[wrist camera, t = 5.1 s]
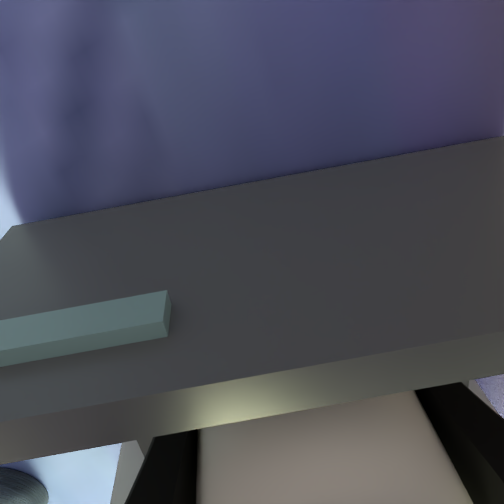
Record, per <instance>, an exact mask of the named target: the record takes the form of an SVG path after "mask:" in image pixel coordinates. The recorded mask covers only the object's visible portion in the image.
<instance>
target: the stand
mask: <svg viewBox="0 0 504 504" xmlns="http://www.w3.org/2000/svg"><path fill="white" fill-rule="evenodd" d="M0 504H48V493H47V491H46V489H45V488H44V486H43V485H42V484H41V483H40V482H39V481H37V480H36V479H35V478H33V477H31V476H29V475H27V474H25V473H22V472H19V471H16V470H12V469H7V468H0Z"/></svg>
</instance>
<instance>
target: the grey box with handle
mask: <svg viewBox="0 0 504 504" xmlns="http://www.w3.org/2000/svg"><path fill="white" fill-rule="evenodd" d="M501 374H504V136H501V137H495V138H490V139H484V140H479V141H473V142H468V143H463V144H457V145H452V146H446V147H441V148H435V149H430V150H424V151H419V152H414V153H408V154H403V155H397V156H392V157H386V158H381V159H375V160H370V161H364V162H359V163H354V164H348V165H343V166H337V167H332V168H326V169H321V170H315V171H310V172H305V173H299V174H294V175H288V176H283V177H277V178H272V179H266V180H261V181H256V182H250V183H245V184H239V185H234V186H228V187H223V188H217V189H212V190H206V191H201V192H196V193H190V194H185V195H179V196H174V197H168V198H163V199H157V200H152V201H147V202H141V203H136V204H130V205H125V206H119V207H114V208H108V209H103V210H97V211H92V212H87V213H81V214H76V215H70V216H65V217H59V218H54V219H48V220H43V221H38V222H32V223H27V224H21V225H16V226H12V227H11V228H10V229H9V231H8V232H7V233H6V234H5V235H4V236H3V238H2V239H1V240H0V465H1V464H6V463H12V462H17V461H23V460H28V459H34V458H39V457H45V456H51V455H56V454H62V453H67V452H73V451H78V450H84V449H90V448H95V447H101V446H106V445H112V444H117V443H123V442H128V441H134V440H137V442H138V445H139V447H140V449H141V451H142V453H143V456H144V458H145V456H146V454H147V451H148V449H149V446H150V444H151V441H152V439H153V437H156V436H162V435H167V434H173V433H178V432H184V431H190V430H195V429H201V428H206V427H212V426H217V425H223V424H229V423H234V422H240V421H245V420H251V419H256V418H262V417H267V416H273V415H279V414H284V413H290V412H295V411H301V410H306V409H312V408H317V407H323V406H329V405H334V404H340V403H345V402H351V401H356V400H362V399H368V398H373V397H379V396H384V395H390V394H395V393H401V392H406V391H412V390H418V389H423V388H429V387H434V386H440V385H445V384H451V383H456V382H462V383H463V384H464V385H466V386H467V387H469V380H473V379H479V378H484V377H490V376H495V375H501Z"/></svg>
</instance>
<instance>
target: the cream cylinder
mask: <svg viewBox="0 0 504 504" xmlns="http://www.w3.org/2000/svg"><path fill="white" fill-rule="evenodd" d="M196 504H473V502H472V500H471V498H470V496H469V494H468V492H467V490H466V488H465V487H464V485H463V483H462V481H461V479H460V477H459V475H458V473H457V471H456V469H455V467H454V465H453V463H452V462H451V460H450V458H449V456H448V454H447V452H446V450H445V448H444V446H443V444H442V442H441V440H440V438H439V437H438V435H437V433H436V431H435V429H434V427H433V425H432V423H431V421H430V419H429V417H428V415H427V414H426V412H425V410H424V408H423V406H422V404H421V402H420V400H419V398H418V396H417V394H416V392H415V390H412V391H406V392H401V393H395V394H390V395H384V396H379V397H373V398H368V399H362V400H356V401H351V402H345V403H340V404H334V405H329V406H323V407H317V408H312V409H306V410H301V411H295V412H290V413H284V414H279V415H273V416H267V417H262V418H256V419H251V420H245V421H240V422H234V423H229V424H223V425H217V426H212V427H206V428H201V429H198V432H197V477H196Z"/></svg>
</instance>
